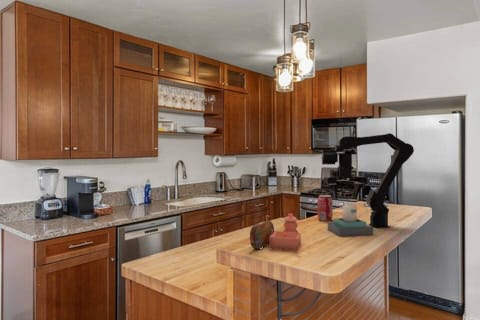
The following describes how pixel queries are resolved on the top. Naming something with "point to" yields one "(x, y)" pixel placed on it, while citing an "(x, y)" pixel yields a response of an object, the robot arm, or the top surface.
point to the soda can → (325, 208)
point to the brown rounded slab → (261, 234)
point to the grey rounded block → (349, 213)
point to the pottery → (286, 236)
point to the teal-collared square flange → (350, 228)
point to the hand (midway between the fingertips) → (345, 199)
